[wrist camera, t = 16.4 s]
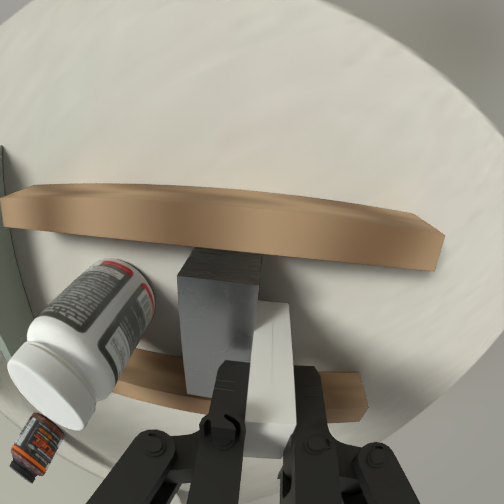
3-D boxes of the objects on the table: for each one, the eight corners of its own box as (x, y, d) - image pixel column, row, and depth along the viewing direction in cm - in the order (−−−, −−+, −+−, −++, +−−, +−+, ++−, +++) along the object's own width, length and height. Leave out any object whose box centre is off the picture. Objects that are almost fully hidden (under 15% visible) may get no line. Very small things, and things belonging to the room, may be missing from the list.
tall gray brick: (200, 349, 16) (187, 393, 13) (199, 241, 13) (176, 275, 10) (250, 356, 16) (245, 402, 13) (262, 247, 13) (259, 285, 10)
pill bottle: (77, 285, 15) (-5, 372, 7) (112, 239, 13) (4, 334, 6) (129, 337, 16) (71, 440, 8) (173, 302, 15) (110, 430, 7)
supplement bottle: (70, 435, 26) (43, 491, 16) (57, 436, 28) (33, 485, 18) (39, 409, 25) (6, 464, 14) (30, 412, 26) (1, 460, 16)
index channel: (70, 344, 17) (51, 369, 14) (34, 185, 12) (-1, 198, 10) (351, 387, 17) (359, 421, 14) (413, 214, 12) (445, 235, 9)
